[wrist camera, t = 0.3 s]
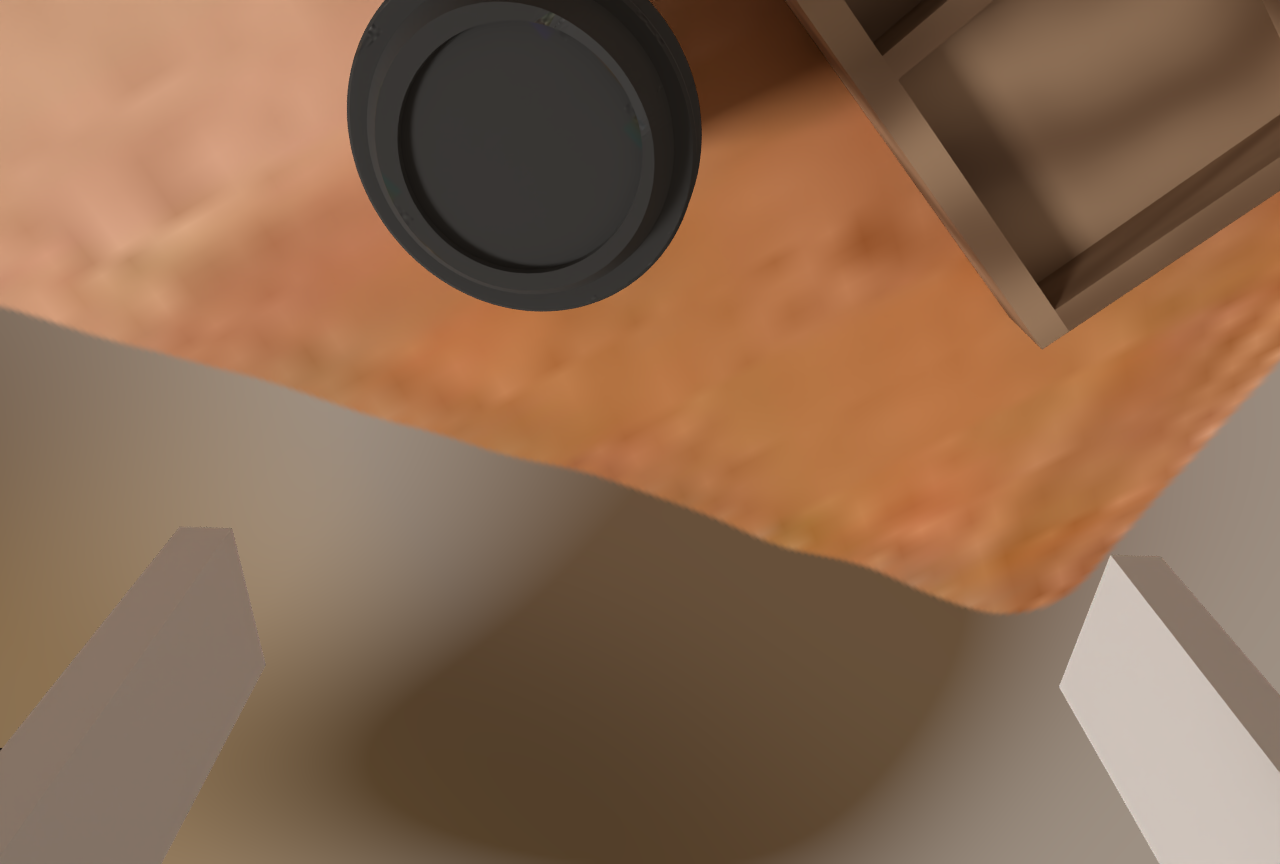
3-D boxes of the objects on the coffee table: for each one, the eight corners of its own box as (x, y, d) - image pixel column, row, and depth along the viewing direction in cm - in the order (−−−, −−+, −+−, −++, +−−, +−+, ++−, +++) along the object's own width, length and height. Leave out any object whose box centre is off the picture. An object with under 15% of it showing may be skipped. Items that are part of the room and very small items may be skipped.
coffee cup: (565, 241, 36) (518, 404, 23) (400, 71, 33) (237, 146, 20) (730, 89, 33) (786, 176, 20) (567, -116, 30) (506, -173, 17)
